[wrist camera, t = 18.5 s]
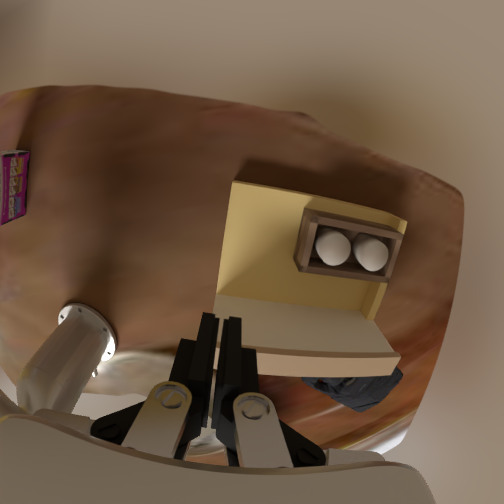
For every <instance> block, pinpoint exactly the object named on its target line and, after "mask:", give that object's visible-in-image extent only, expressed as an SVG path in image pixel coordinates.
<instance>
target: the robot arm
mask: <svg viewBox="0 0 504 504" xmlns="http://www.w3.org/2000/svg"><path fill="white" fill-rule="evenodd" d="M219 321H220V318H216V317H215V314H212V313H205V312H203V315H202V319H201V323H200V327H199V332H198V336H197V340H196V341H194V340H188V339H183V338H181V340H180V343H179V347H178V350H177V353H176V357H175V360H174V363H173V367H172V370H171V374H170V377H169V381H165V382H162V383H159V384H157V385H155V386H154V388H153V389H152V390H151V392H150V394H149V395H148V397H147V399H146V400H145V401H143V402H140V403H138V404H136V405H133V406H130V407H128V408H125V409H122V410H120V411H117V412H114V413H112V414H109V415H106V416H103V417H101V418H99V419H97V420H91V419H90V418H89V417H86V416H80V415H75V414H71V413H72V411H73V409H74V407H75V405H76V403H77V401H78V399H79V397H80V395H81V394H82V392H83V390H84V388H85V386H86V384H87V383H88V381H89V379H90V377H91V376H97V375H98V372H97V369H96V368H97V366H98V364H99V363H100V361H106V360H108V359H110V358H111V357H112V356H113V355H114V353H115V351H116V347H117V341H116V337H115V334H114V332H113V330H112V328H111V326H110V325H109V323H108V322H107V321H106V320H105V318H104V317H103V316H102V315H100V314H99V313H98V312H97V311H95V310H94V309H93V308H91V307H89V306H87V305H84V304H81V303H70V304H67V305H66V306H65V307H64V308H63V309H62V310H61V311H60V313H59V317H58V323H59V326H58V327H57V328H56V329H55V331H54V332H53V333H52V334H51V335H50V336H49V338H48V339H47V340H46V341H45V342H44V343H43V345H42V346H41V347H40V348H39V350H38V351H37V352H36V353H35V354H34V356H33V357H32V358H31V359H30V361H29V362H28V363H27V365H26V366H25V367H24V368H23V370H22V371H21V372H20V374H19V376H18V380H17V387H16V389H17V401H18V406H17V405H16V404H15V403H14V402H13V401H11V400H10V399H9V398H8V397H7V396H6V395H5V394H4V393H3V391H2V390H1V389H0V504H436V503H435V500H434V498H433V495H432V493H431V491H430V489H429V487H428V485H427V483H426V481H425V480H424V478H423V476H422V475H421V474H420V473H419V471H417V470H416V469H415V468H413V467H412V466H409V465H406V464H402V463H396V462H389V461H385V459H384V458H383V457H382V456H381V455H380V454H379V453H377V452H372V451H353V450H341V449H330V448H329V449H328V450H322V449H321V448H320V447H319V446H317V445H316V444H314V443H313V442H311V441H310V440H308V439H307V438H305V437H304V436H302V435H301V434H299V433H298V432H296V431H295V430H293V429H292V428H291V427H289V426H288V425H286V424H285V423H284V422H282V421H281V420H279V419H278V417H277V414H276V411H275V407H274V405H273V403H272V401H271V400H270V399H269V398H267V397H266V396H264V395H262V394H259V383H258V368H257V352H256V349H253V348H244V347H242V318H240V317H233V316H229V319H224V321H223V328H222V335H221V342H220V349H219V357H218V364H217V373H216V382H215V392H214V402H213V412H212V423H211V428H212V429H216V436H217V437H216V438H217V439H218V440H219V441H221V442H222V443H223V444H224V453H225V460H226V466H220V465H211V464H203V463H196V462H189V461H185V458H186V455H187V452H188V449H189V447H190V443H191V440H193V439H194V438H196V437H198V436H200V434H201V427H205V428H206V427H207V420H208V411H209V402H210V393H211V385H212V376H213V368H214V360H215V352H216V344H217V336H218V329H219Z"/></svg>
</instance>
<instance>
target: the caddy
mask: <svg viewBox="0 0 504 504" xmlns="http://www.w3.org/2000/svg"><path fill="white" fill-rule="evenodd" d="M403 236H404V234H402V233H401V232H399V231H397V230H396V229H394V228H392V227H390V226H389V225H385V224H381V223H376V222H372V221H368V220H363V219H358V218H354V217H349V216H344V215H340V214H335V213H330V212H325V211H320V210H314V209H309V208H304V210H303V214H302V219H301V224H300V228H299V233H298V238H297V242H296V247H295V251H294V255H293V260H294V262H295V264H296V266H297V269H298V271H299V272H303V273H311V274H318V275H326V276H333V277H341V278H349V279H357V280H364V281H372V282H380V283H388V282H389V280H390V277H391V274H392V271H393V268H394V265H395V262H396V259H397V256H398V253H399V249H400V246H401V243H402V239H403Z"/></svg>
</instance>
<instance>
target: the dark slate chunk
mask: <svg viewBox="0 0 504 504" xmlns="http://www.w3.org/2000/svg"><path fill="white" fill-rule="evenodd" d="M402 377H403V375H402V373H401V371H400V370H399V369H398V368H397V365H396V367H395V369H394V370H393V372H392V374H391V375H385V376H367V377H301V378H302V380H303V382H305V383H306V384H307V385H308V386H310V387H312V388H314V389H316V390H318V391H320V392H322V393H324V394H327V395H329V396H331V398H332V399H334V400H335V401H337V402H339V403H342V404H343V405H345V406H348V407H350V408H351V409H353V410H354V411H357V412H363V411H365V410H367V409H369V408H371V407H373V406H375V405H377V404H378V403H380V402H381V401H382V400H383V399H384V398H385V397H386V396H387V395H388V394H389V392H390V391H391V390H392V389H393V388H394V387H395V386H396V385H397V384H398V383H399V381H400V380H401V379H402ZM320 378H321V380H323V382H325V383H320V382H319V381H318V379H320Z"/></svg>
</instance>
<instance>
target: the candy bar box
mask: <svg viewBox="0 0 504 504" xmlns="http://www.w3.org/2000/svg"><path fill="white" fill-rule="evenodd" d="M29 155H30V151H21V150H8V151H1V152H0V226H1V225H3V224H6V223H8V222H10V221H12V220H15V219H17V218H20V217H22V216H24V215H25V214H26V189H27V174H28V164H29Z"/></svg>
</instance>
